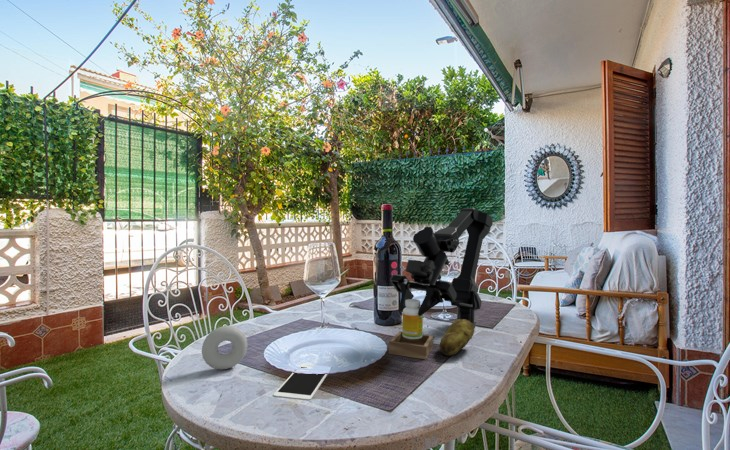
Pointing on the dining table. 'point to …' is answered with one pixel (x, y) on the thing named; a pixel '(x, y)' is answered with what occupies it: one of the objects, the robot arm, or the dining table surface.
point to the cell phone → (300, 385)
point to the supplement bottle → (412, 320)
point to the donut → (229, 359)
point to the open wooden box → (411, 346)
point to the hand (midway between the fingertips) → (409, 313)
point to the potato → (456, 336)
